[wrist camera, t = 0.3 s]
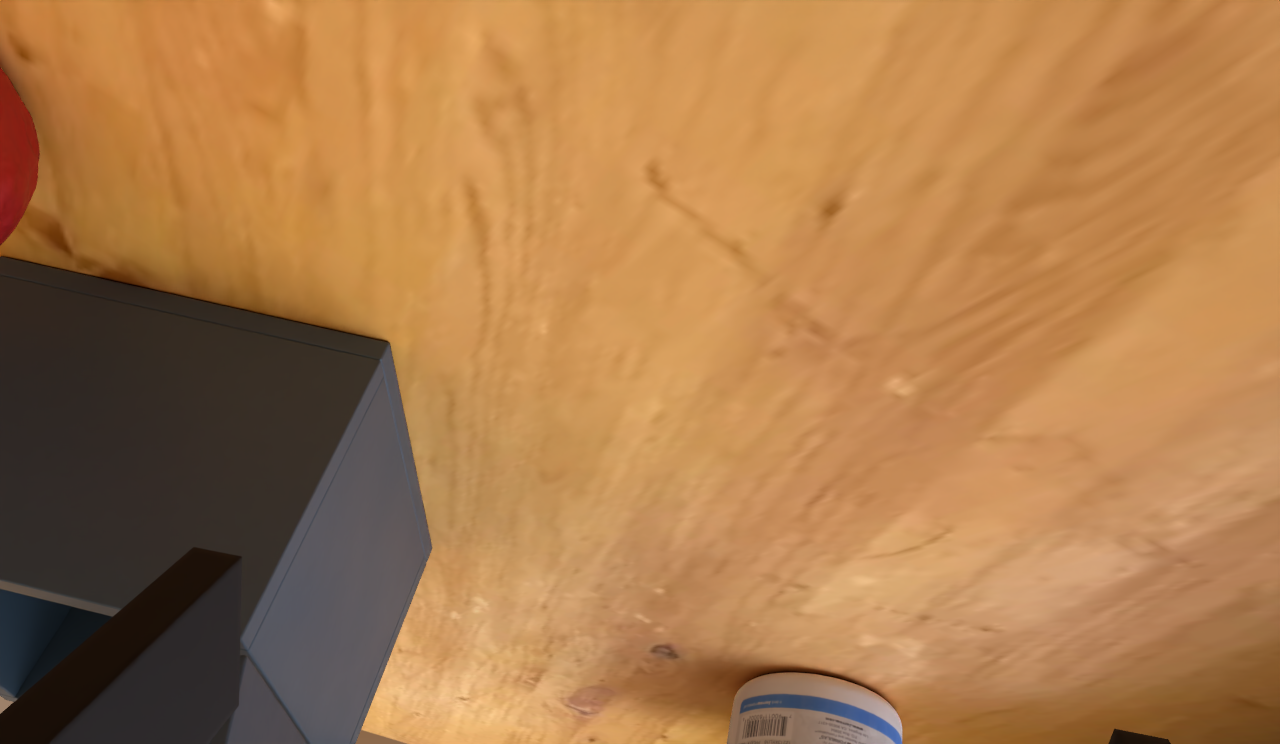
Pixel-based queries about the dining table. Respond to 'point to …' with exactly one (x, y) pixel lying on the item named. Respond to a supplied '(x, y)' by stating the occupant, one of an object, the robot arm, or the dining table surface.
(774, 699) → the supplement tub
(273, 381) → the box
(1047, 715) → the dining table surface
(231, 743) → the lid
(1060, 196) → the dining table surface
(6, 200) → the red tomato
